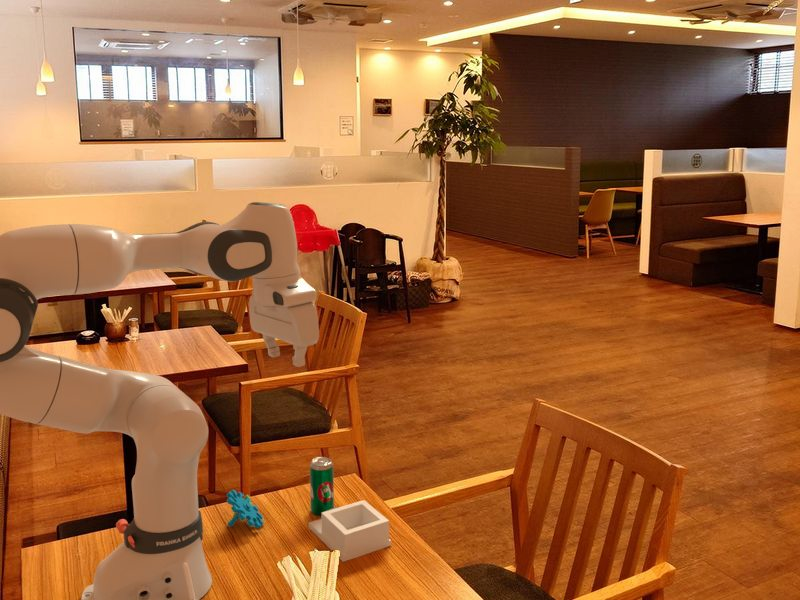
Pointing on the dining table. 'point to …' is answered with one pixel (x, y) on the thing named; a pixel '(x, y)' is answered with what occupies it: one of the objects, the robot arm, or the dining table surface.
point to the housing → (353, 530)
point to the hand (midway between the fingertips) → (286, 360)
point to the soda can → (321, 485)
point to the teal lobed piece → (244, 509)
